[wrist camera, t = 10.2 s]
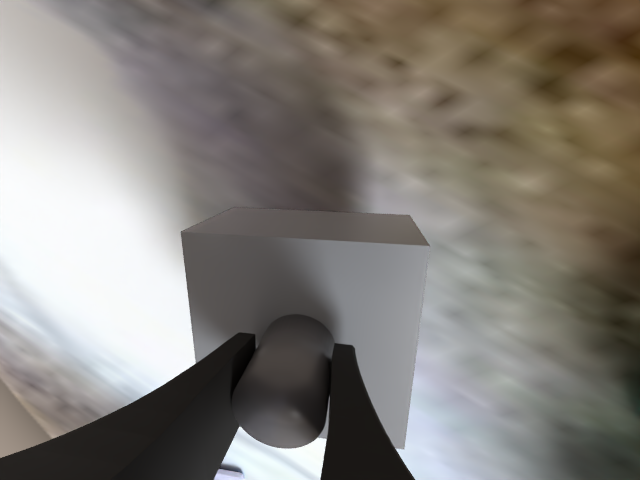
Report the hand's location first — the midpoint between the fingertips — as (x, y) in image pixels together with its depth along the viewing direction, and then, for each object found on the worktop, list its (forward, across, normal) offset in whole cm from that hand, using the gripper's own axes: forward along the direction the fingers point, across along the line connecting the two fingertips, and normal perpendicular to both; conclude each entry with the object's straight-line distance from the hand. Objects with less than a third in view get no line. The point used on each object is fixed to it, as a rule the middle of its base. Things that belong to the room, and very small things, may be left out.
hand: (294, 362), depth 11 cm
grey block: (+6, 0, 0) cm, 6 cm away
